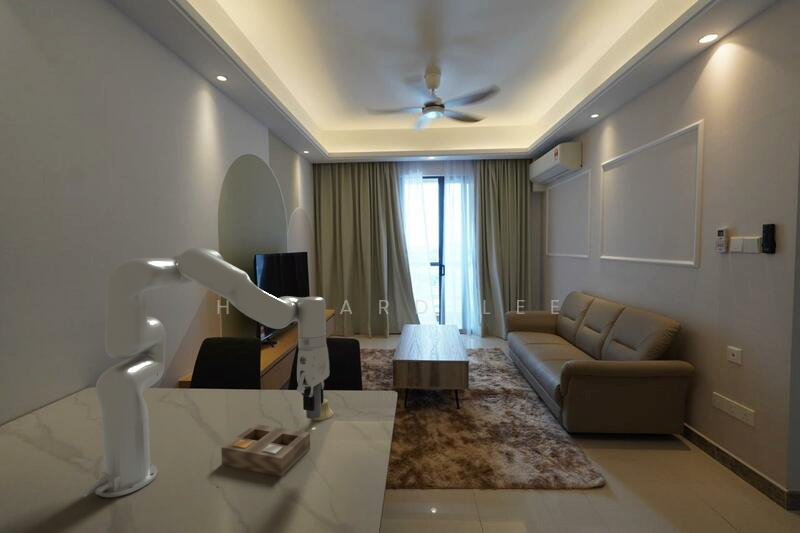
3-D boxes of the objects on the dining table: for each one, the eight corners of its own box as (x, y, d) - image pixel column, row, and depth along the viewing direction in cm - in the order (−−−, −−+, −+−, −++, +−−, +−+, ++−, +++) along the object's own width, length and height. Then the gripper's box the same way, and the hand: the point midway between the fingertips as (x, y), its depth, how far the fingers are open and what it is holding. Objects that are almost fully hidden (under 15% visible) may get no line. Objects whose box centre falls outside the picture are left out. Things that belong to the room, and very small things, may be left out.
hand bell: (310, 422, 124) (309, 377, 123) (310, 412, 132) (309, 370, 131) (334, 418, 126) (333, 375, 125) (332, 409, 134) (331, 368, 133)
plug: (316, 419, 95) (315, 387, 95) (303, 417, 96) (302, 385, 96) (323, 413, 99) (323, 381, 98) (311, 411, 100) (310, 380, 100)
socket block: (310, 448, 106) (309, 431, 106) (281, 476, 93) (281, 457, 93) (255, 439, 112) (255, 423, 112) (221, 464, 99) (221, 446, 99)
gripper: (307, 350, 88) (309, 421, 88) (338, 335, 104) (339, 396, 104) (282, 348, 90) (283, 418, 90) (316, 334, 106) (317, 393, 106)
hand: (313, 405), depth 97 cm, fingers closed on plug, 4 cm apart
